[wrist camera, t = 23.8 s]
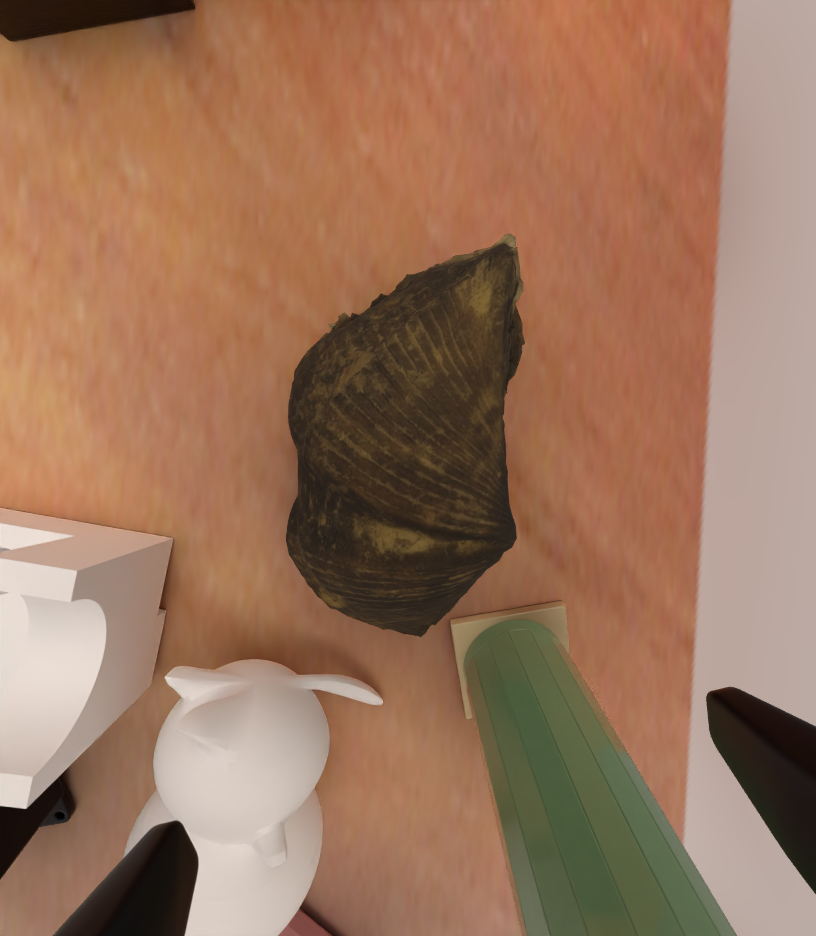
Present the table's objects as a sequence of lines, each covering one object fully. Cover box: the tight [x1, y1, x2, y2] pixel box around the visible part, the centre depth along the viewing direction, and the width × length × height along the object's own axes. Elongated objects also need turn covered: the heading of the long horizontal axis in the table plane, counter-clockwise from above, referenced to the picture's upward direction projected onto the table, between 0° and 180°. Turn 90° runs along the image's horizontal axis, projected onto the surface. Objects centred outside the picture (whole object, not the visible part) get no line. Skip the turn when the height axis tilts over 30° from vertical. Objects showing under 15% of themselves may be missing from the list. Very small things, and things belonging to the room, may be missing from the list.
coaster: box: [450, 601, 570, 720], centre depth 22 cm, size 6×6×1 cm
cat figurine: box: [124, 659, 383, 936], centre depth 20 cm, size 9×11×12 cm
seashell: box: [286, 234, 525, 637], centre depth 16 cm, size 16×9×7 cm, turn 169°
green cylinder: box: [463, 620, 737, 936], centre depth 15 cm, size 5×5×13 cm
